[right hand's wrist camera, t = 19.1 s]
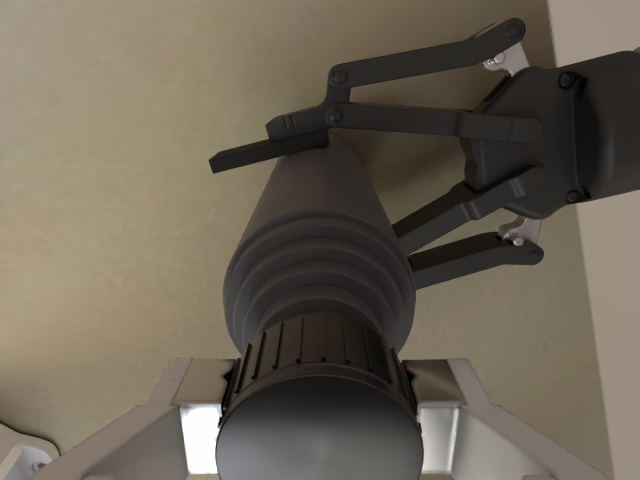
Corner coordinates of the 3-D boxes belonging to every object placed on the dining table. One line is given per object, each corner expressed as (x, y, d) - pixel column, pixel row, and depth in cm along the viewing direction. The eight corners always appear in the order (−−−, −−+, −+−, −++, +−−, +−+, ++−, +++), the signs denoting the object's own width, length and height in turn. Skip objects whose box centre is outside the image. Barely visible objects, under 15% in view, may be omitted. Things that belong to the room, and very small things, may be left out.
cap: (261, 467, 11) (249, 552, 9) (207, 333, 10) (179, 399, 8) (420, 435, 11) (442, 516, 9) (386, 291, 9) (405, 350, 7)
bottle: (335, 114, 30) (384, 240, 7) (377, 190, 32) (522, 479, 9) (259, 160, 31) (97, 395, 8) (304, 231, 33) (273, 580, 10)
